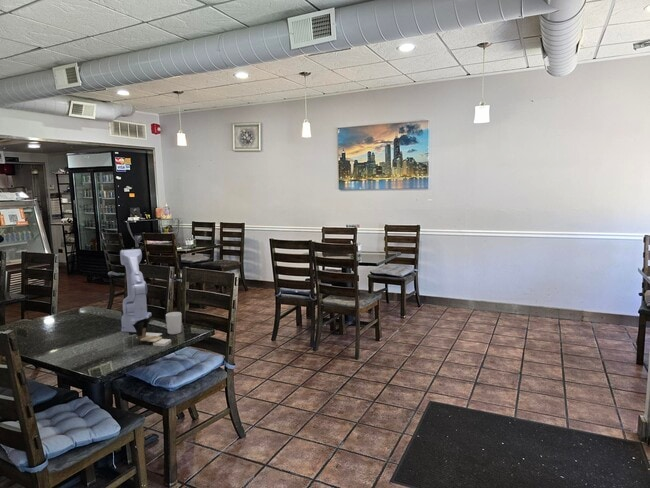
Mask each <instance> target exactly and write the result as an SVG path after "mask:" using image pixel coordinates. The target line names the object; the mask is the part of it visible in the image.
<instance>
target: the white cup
mask: <svg viewBox="0 0 650 488" xmlns="http://www.w3.org/2000/svg"><path fill="white" fill-rule="evenodd" d="M165 322H166V323H165V324H166V329H167V331H166V332H167V334H169V335H178V334H180V333H181V332H182V323H183V322H182V312H181V311H172V312H168V313H166V314H165Z"/></svg>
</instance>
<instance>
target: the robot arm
mask: <svg viewBox="0 0 650 488" xmlns="http://www.w3.org/2000/svg"><path fill="white" fill-rule="evenodd" d="M119 257H120V265H122V266H124V267H125V270H126V271H125V272H126V273H125V274H126V286H127V287H126V288H127V296H126V297H125V298H124V299H123V300H122V313H123V314H122V316H121V319H120V321H121V330H120V332H124V333H125V332H126V333H127V332H128V333H136V336H137V335H138V336H142V332H143V327H144V328H146V333H148V332H147V331H148V326H149V323H150V321H151V318H150V317H152V312H149V311H148V306H147V304H148V303H147V294H148V285H147V282H146V280H145V279H144V275H143V273H142V271H140V267H139V264H140V263H141V261H142V258H143V253H142V250H141V249H140V248H134V249H121V250H119Z"/></svg>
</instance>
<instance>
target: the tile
mask: <svg viewBox="0 0 650 488" xmlns="http://www.w3.org/2000/svg"><path fill="white" fill-rule="evenodd" d="M171 343H172V339H171V338H169V339H168V338H161V339H160V340H158V341H156V342H152V345H153V346H155V347H166V346H167V345H169V344H171Z"/></svg>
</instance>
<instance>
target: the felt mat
mask: <svg viewBox="0 0 650 488" xmlns="http://www.w3.org/2000/svg"><path fill="white" fill-rule="evenodd" d="M147 335H150V336H159V337H161V336H162V335H163V332H162V333H161V332H146V336H147ZM135 338H136V339H137V336H136V337H135Z"/></svg>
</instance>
